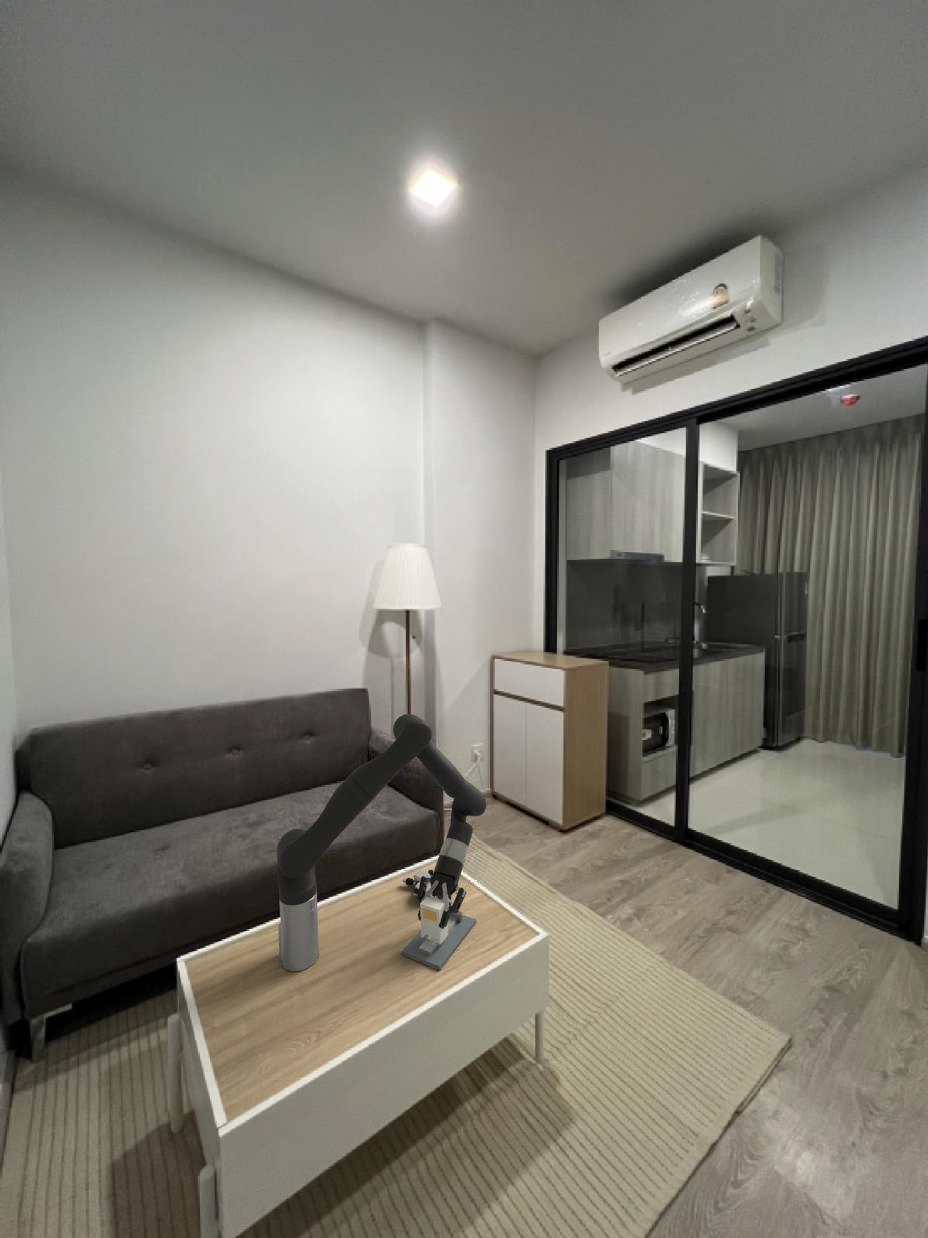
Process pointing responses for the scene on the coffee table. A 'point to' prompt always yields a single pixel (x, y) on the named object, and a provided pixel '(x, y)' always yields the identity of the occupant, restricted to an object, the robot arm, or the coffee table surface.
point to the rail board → (444, 949)
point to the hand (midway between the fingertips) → (430, 924)
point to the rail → (433, 942)
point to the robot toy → (417, 880)
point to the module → (432, 918)
